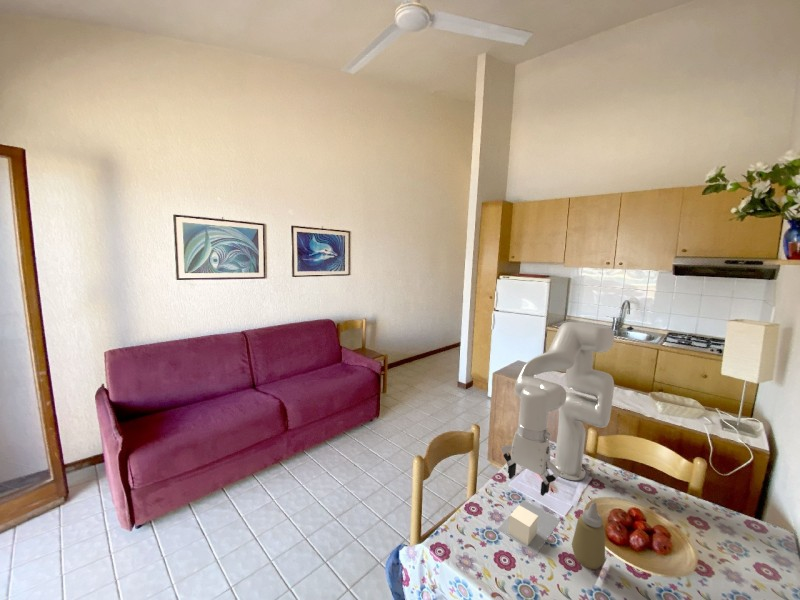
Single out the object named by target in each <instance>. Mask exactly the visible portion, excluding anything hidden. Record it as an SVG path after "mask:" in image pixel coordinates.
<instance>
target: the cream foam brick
mask: <svg viewBox="0 0 800 600" xmlns="http://www.w3.org/2000/svg"><path fill="white" fill-rule="evenodd" d="M509 516H510V519H509V531H508V533H509V534H510V535H512V536H513V537H515V538H517V539H518V540H520V541H521V542H523V543H524V544H526V545H527V546H528V545H529V543H530V542H531V541H532V539H533V538H534V537H535V535H536V534H537V524H538V515H536V514H534V513H532V512H531V511H529V510H527V509H525V508H524V507H522V506H520V504H518V506H517V507H516V508H515V509H514V510H513V511H512V512H511V513H510V514H509Z"/></svg>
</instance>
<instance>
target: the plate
mask: <svg viewBox="0 0 800 600" xmlns="http://www.w3.org/2000/svg"><path fill="white" fill-rule="evenodd" d="M519 505H520V506H522V507H524V508H525V509H527V510H529V511H531V512H532V513H534V514H536V515H538V524H537V534H536V535H535V537H534V538H533V539H532V541H531V542H530V543H529V545H528V546H527V545H526V544H524V543H523V542H521V541H520V540H518V539H517V538H515V537H513V536H512V535H510V534H509V533H508V531H509V519H510V515H509V516H508V517H507V518H506V519H505V521H503V522H502V524H500V526H499V527H498V528H497V530H498V531H499V532H501V534H505V536H507V537H509V538H510V539H511V540H513V541H515V542H516V543H518V544H519V545H521V546H523V547H524V548H526V549H527V550H529V551H530V552H531V553H533V554H535V555H538V553H539V552H540V550H541V549H542V548H543V547H544V545H545V543H546V542H547V540H548V539H549V538H550V536H551V535H552V533H553V532H554V530H555V529H556V527H557V526H558V524H559V523H560V522H561V519H559V518H557V517H556V516H554V515H552V514H551V513H549V512H547V511H545V510H543V509H542V508H539V507H537V506H536V505H534V504H533V503H530V502H529V501H527V500H525V499H523V500H522V501H521V503H519Z"/></svg>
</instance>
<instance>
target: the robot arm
mask: <svg viewBox="0 0 800 600" xmlns="http://www.w3.org/2000/svg"><path fill="white" fill-rule="evenodd" d="M614 341H615V333H614V331H613V330H612V328H610V327H608V326H607V327H606V326H601V325H595V324H594V325H593V324H588V323H583V322H582V323H581V322H574V321H568V322H567V321H566V322H564V323H561V325H560V326H559V328H558V329H557V331H556V334H555V336H554V337H553V340H552V341H551V344H550V346H549V347H548V350H547V351H546V352H544V353H542V354H539V355H537V356H535V357H533V358H532V359H530V360H529V361H527V362H526V363H525V364H524V366H523V367H522V368H521V370H520V372H519V374H518V376H517V378H516V381H515V384H514V394H515V396H516V397H517V398H519V399H520V403H519V413H518V423H517V425H518V427H517V428H516V429H515V433H514V436H513V440H512V443H511V444H507V445H506V444H505V445H502V446H501V448H500V449H501V452H502V454H503V459H504V460H505V461H506V465H507V466H508V467H507V473H508V479H509V480H512V479H513V478H514V477H515V476H516V474H517V471H516V470H517V465H518V466H519V467H522V468H525V469H527V470H528V471H531V472H532V473H535V474H537V475H539V476H540V478H541V480H542V481H541V484H540V495H541V496H543V497H544V496H545V494H548V493H549V490H550V483H552V482H555V481H556V479H558V478H559V477H561V478H563V479H566V480H569V481H582V480H583V479H585V478H586V470H585V469H584V467H583V457H584V449H585V442H586V429H585V426H584V424H583V423H585V424H588V425H590V426H594V427H597V428H606V427H608V425H609V423H610V419H611V414H612V406H613V399H614V398H613V397H614V390H615V381H614V377H613V376H612V375H611V374H610V373H609V372H605V371H602V370H597V369H594V368H593V363H594V354H593V353H600V354H601V353H602V354H603V353H606V352H609V351H610V350H611V349H612V347H613V345H614V343H615V342H614ZM565 370H566V371H565ZM557 371H558V372H559V371H565V381H564V382H565V386H566V388H568V389H570V390H572V391H575V392H578V393H575V392H568V391H566V389H565V388H564V386H562V385H560V384H558V383H555V382H553V381H548V380H545V379H541V378H538V377H537V375H541V374H544V373H550V372H557ZM579 393H581V394H579ZM583 394H585V395H588V396H585V395H583ZM590 396H592V397H590ZM593 397H594V398H593ZM556 410H557V411H558V425H557V426H558V427H557V435H556V436H557V437H556V443H555V444H556V447H555V457H554V458H553V459H552V460H551V445H550V439H551V438H552V433H550V432H548V418H549V413H550V412H552V411H556ZM549 470H550V471H551V472H552V473H553V474H552V473H551V474H550V472H549Z"/></svg>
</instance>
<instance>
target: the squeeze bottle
mask: <svg viewBox="0 0 800 600" xmlns="http://www.w3.org/2000/svg"><path fill="white" fill-rule="evenodd" d="M572 537H573V538H572V540H571V541H572V542H571V548H572V552H573V555H574V558H575V560H576V561H577V562H578V563H579V564H580V565H581V566H582V567H585V568H586V569H590V570H598V569H600V568H601V566H602V564H603V563H604V562H605V558H606V529H605V526H604V524H603V518H602V516H601V515H600V514H599V513H598V507H597V503H596V502H594V501H591V503H590V505H589V508H588V509H584V510H583V511H582V515H581V516H578V519H577V522H576V526H575V531H574V534H573V536H572Z"/></svg>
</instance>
